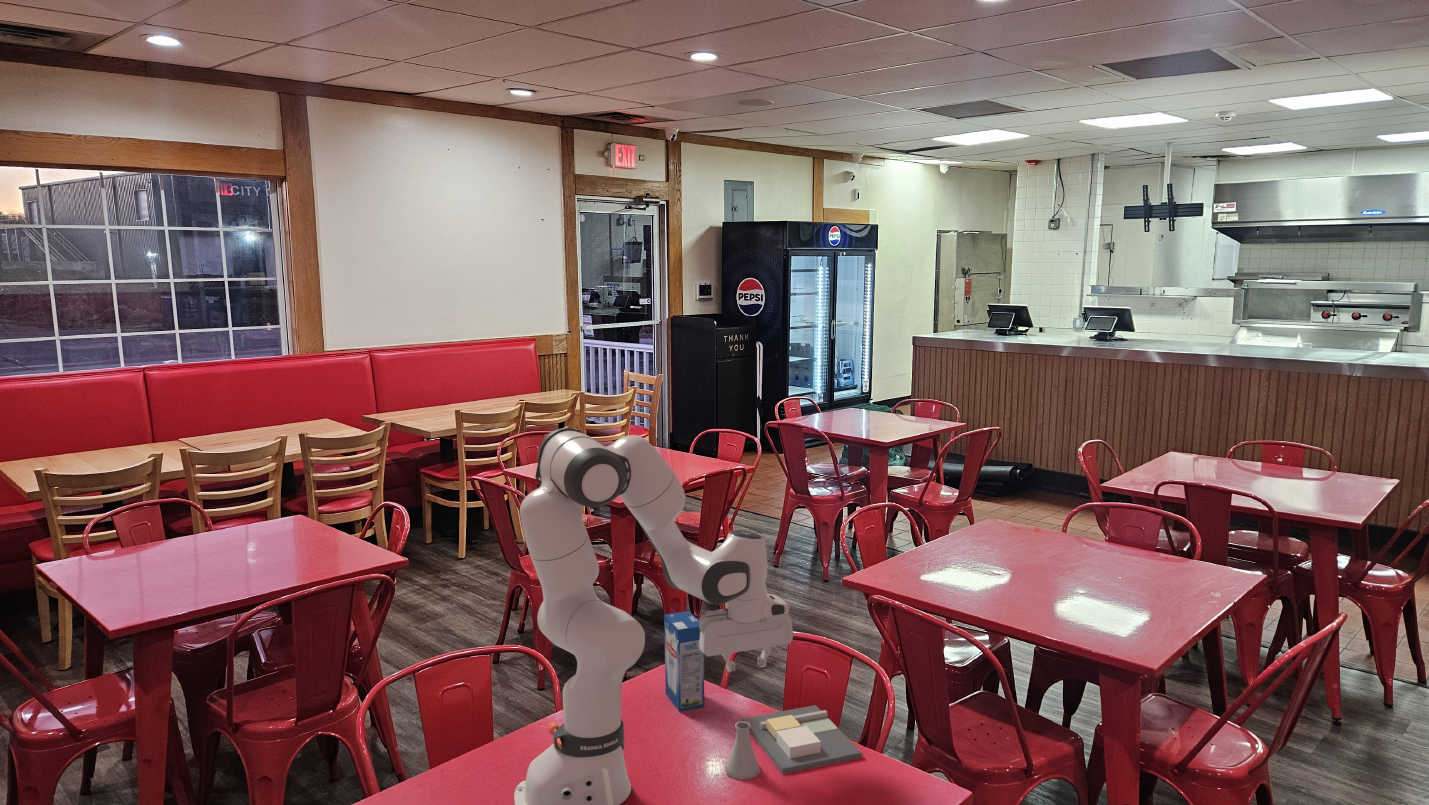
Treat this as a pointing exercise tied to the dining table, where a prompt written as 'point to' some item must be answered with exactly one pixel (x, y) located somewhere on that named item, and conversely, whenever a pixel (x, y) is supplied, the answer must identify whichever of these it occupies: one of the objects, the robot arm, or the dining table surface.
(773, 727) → the stub
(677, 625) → the milk carton
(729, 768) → the flask
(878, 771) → the dining table surface
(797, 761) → the ticket board
